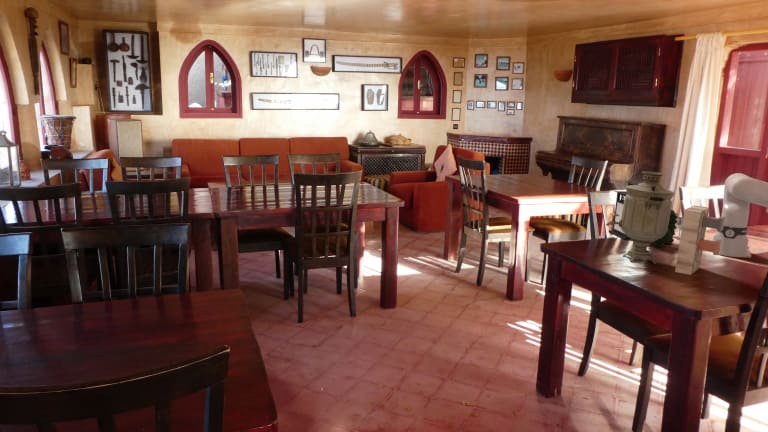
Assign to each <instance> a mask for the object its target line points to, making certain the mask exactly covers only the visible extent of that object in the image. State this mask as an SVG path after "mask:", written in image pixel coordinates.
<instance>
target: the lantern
mask: <svg viewBox="0 0 768 432" xmlns="http://www.w3.org/2000/svg"><path fill="white" fill-rule="evenodd" d="M640 174H643V173H642V172H639V173H635V174H634V175H633V176H632V178H634V177H635V176H638V175H640ZM632 178H630V179H629V181H628V182H626V183H627V186H630V185H638V184H639V183H640V182H631V181H632ZM613 192H615V193H616V199H615V208H614V213H616V214H618V215H619V216H615V222H619V221H620V220H621V218H622V212H623V206H624V199H625V196H626V195H627V191H626V190H625V191H623V190H619V191H618V190H614V191H613ZM608 233H609V234H611V235H613V236H615V237H618V238H619V239H621V240H623V241H633V239H631V238H629V237H628V236H627V235H626V234H625V233H624V232H623V231H622V229H621V227H619V224H614V225H613V226H612V230H610V229H609V230H608Z"/></svg>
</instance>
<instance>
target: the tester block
mask: <svg viewBox="0 0 768 432" xmlns="http://www.w3.org/2000/svg"><path fill="white" fill-rule="evenodd" d="M683 212H684V213H683V216H682V217H683V224H682V229H681V232H680V236H679V239H680V240H679V245H678V252H677V258H676V264H675V271H674V272H675V273H679V274H684V275H689V276H691V275H692V274H694V273H695V272H697V271H698V270H700V267H701V262H702V256H703V250H698V244H699V240H700V239H704V240H706V239H705V238H706V231H707V227H701V225H702V219H703V216H708V217H709V214H710V213H709V212H710V207H708V206H700V205H692V206H690V207H688V208H685V209H684V211H683Z"/></svg>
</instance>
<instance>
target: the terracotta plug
mask: <svg viewBox="0 0 768 432" xmlns="http://www.w3.org/2000/svg"><path fill="white" fill-rule="evenodd" d="M720 245H721V240H717V241H713V240H709V239H700V240H699V244H698V250H703V251H704V252H709V253H713V254H712V255H714V256H717V255H719V254H718V253H719V251H720ZM703 251H702V252H703Z"/></svg>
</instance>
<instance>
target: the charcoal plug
mask: <svg viewBox="0 0 768 432" xmlns="http://www.w3.org/2000/svg"><path fill="white" fill-rule="evenodd" d="M721 216H722V215H721ZM721 216H720V217H716V216H715V217H714V216H709V215H708V216H703V219H702V225H701V227H706V229H707V228H708V229H715V230H716V232H721V231H722V230H723V227H724V221H725V217H723V216H722V217H721Z"/></svg>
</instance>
